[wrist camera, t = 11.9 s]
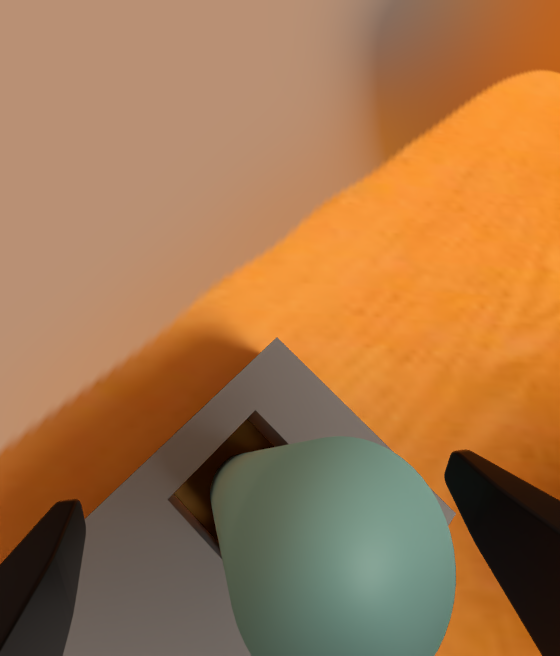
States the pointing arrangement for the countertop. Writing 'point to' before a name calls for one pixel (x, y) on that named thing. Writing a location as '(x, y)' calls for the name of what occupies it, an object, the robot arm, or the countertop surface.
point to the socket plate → (190, 522)
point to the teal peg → (333, 551)
